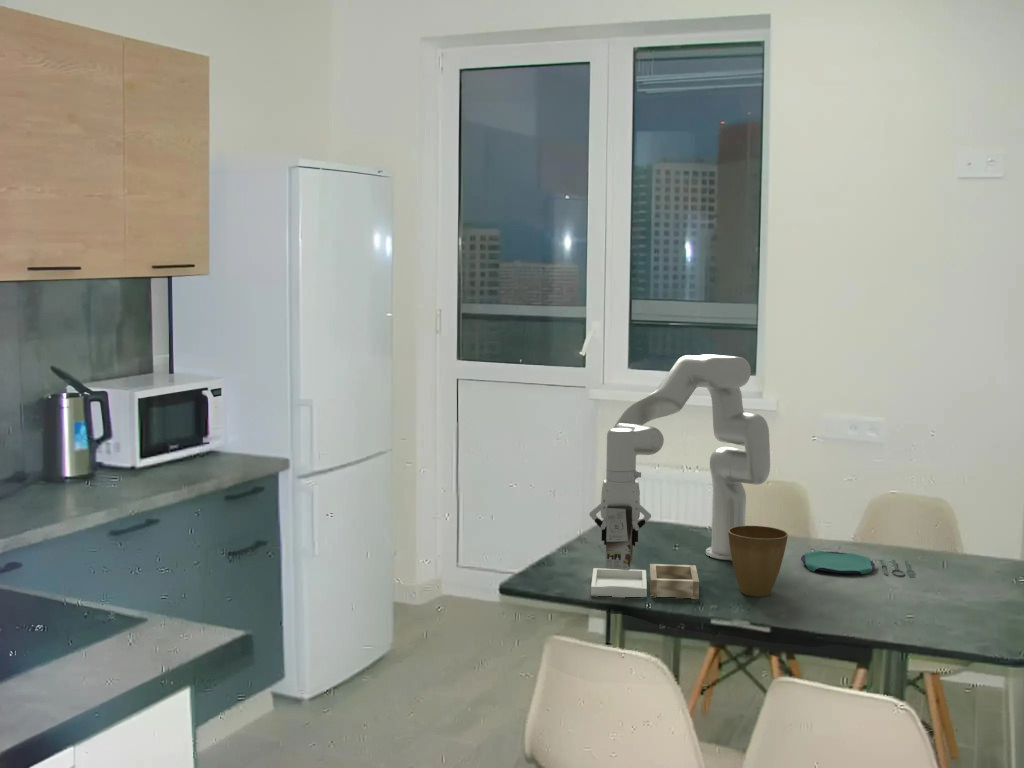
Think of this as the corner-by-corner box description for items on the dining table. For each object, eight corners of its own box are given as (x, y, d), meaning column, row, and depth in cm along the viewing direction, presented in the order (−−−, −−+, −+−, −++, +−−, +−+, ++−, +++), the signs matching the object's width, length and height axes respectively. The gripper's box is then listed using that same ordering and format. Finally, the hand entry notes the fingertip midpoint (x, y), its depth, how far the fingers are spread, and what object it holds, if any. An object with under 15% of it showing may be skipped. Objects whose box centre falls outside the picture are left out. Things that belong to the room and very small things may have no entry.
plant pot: (783, 603, 265) (785, 540, 264) (723, 597, 270) (724, 535, 268) (788, 587, 279) (790, 527, 278) (730, 581, 284) (731, 522, 282)
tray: (645, 579, 286) (645, 569, 286) (646, 598, 269) (646, 588, 269) (593, 577, 288) (593, 568, 287) (590, 596, 271) (591, 586, 271)
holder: (695, 581, 284) (695, 565, 283) (698, 599, 269) (699, 581, 268) (649, 580, 285) (649, 563, 284) (650, 597, 270) (650, 579, 270)
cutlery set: (799, 555, 311) (800, 547, 311) (908, 564, 304) (909, 556, 304) (801, 574, 292) (801, 566, 292) (917, 584, 285) (918, 576, 285)
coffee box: (630, 570, 273) (631, 508, 271) (604, 569, 274) (605, 507, 272) (633, 561, 282) (634, 501, 280) (608, 559, 283) (609, 499, 281)
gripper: (654, 474, 278) (653, 541, 280) (587, 472, 280) (586, 539, 282) (655, 479, 271) (653, 549, 273) (586, 478, 273) (585, 546, 274)
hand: (619, 543), depth 277 cm, fingers closed on coffee box, 6 cm apart
